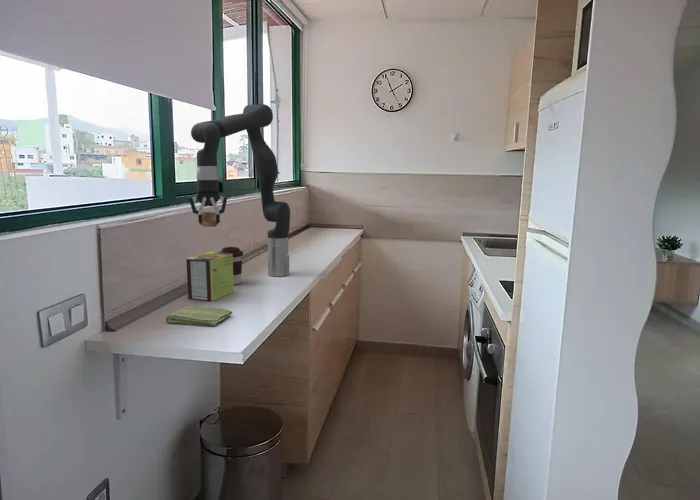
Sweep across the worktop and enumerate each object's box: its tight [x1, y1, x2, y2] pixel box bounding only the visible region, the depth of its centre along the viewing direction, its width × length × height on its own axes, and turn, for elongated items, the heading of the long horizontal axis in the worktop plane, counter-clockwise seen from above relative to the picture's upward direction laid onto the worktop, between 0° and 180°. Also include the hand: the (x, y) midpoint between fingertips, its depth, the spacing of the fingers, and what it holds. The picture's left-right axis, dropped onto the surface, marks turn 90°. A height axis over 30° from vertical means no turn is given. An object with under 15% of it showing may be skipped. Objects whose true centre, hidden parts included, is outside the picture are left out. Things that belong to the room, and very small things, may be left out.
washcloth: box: [165, 305, 233, 327], centre depth 161 cm, size 13×18×3 cm
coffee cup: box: [218, 246, 244, 285], centre depth 208 cm, size 10×10×15 cm
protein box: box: [185, 251, 235, 302], centre depth 189 cm, size 10×15×16 cm
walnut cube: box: [201, 211, 217, 228], centre depth 186 cm, size 5×5×5 cm
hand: (209, 224), depth 186 cm, fingers closed on walnut cube, 5 cm apart
